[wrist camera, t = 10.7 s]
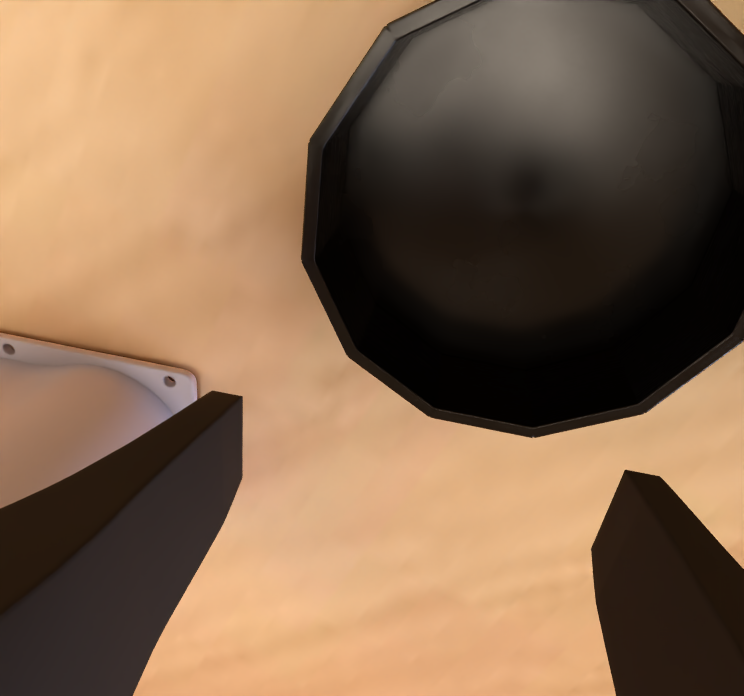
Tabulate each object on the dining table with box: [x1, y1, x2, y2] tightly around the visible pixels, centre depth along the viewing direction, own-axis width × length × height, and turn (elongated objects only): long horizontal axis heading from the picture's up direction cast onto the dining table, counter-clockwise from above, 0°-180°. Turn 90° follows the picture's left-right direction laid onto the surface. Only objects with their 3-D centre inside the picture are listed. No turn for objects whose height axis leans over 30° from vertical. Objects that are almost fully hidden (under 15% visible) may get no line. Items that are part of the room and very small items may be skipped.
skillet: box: [301, 0, 744, 438], centre depth 15 cm, size 20×12×4 cm, turn 173°
